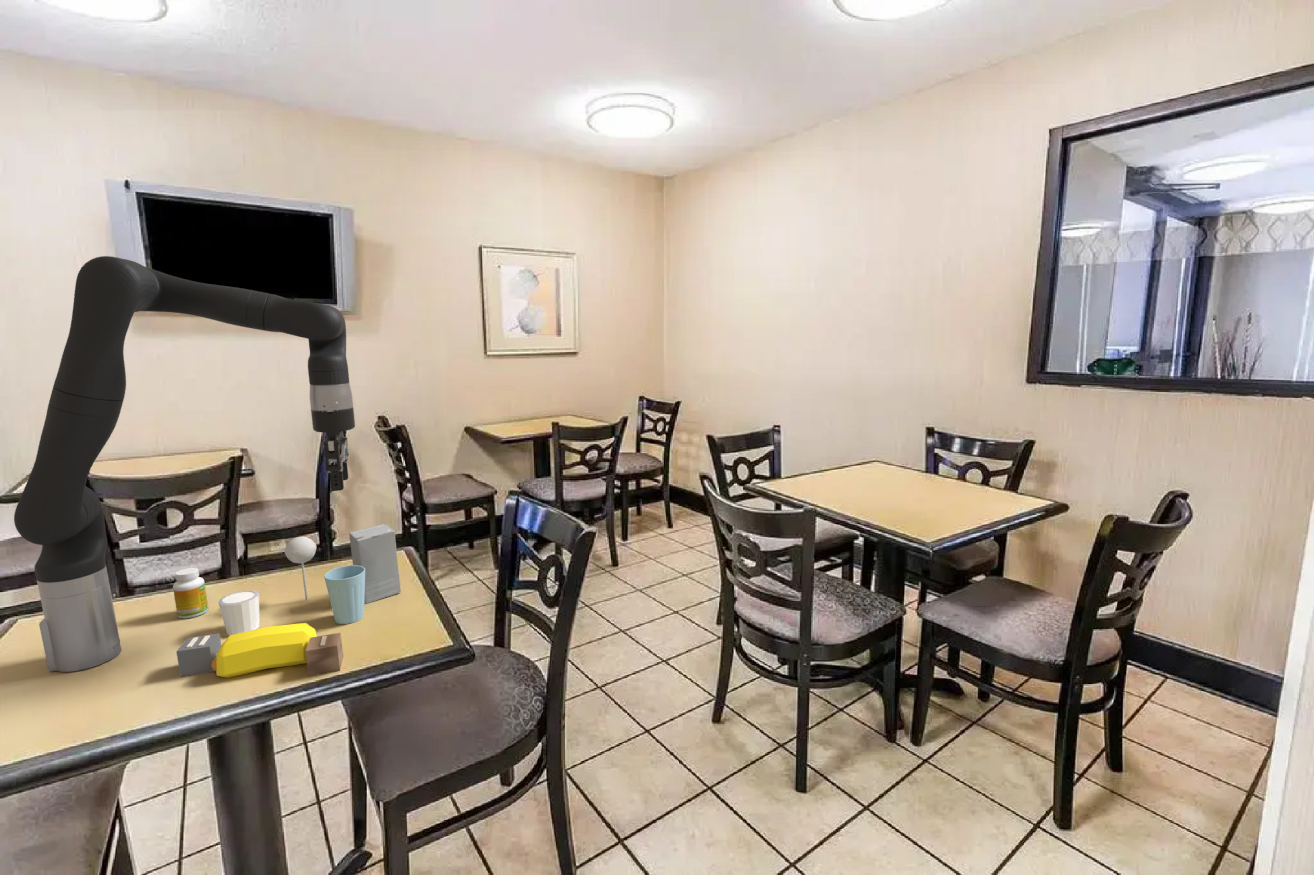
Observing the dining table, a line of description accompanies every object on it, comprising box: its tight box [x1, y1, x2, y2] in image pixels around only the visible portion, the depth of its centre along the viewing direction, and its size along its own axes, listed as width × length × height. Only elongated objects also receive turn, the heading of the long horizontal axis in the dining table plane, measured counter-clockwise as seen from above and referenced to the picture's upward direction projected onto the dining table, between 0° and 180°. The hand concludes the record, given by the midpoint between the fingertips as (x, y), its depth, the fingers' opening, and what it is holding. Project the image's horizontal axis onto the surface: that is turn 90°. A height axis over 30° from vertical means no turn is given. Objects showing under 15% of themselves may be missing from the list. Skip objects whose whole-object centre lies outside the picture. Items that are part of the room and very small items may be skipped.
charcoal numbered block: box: [175, 633, 222, 678], centre depth 111 cm, size 5×5×5 cm
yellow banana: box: [211, 622, 318, 679], centre depth 112 cm, size 18×7×8 cm
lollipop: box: [284, 536, 317, 602], centre depth 137 cm, size 6×6×15 cm
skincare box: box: [348, 523, 402, 605], centre depth 139 cm, size 8×7×16 cm
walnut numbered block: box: [306, 632, 344, 677], centre depth 111 cm, size 5×5×5 cm
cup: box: [323, 564, 365, 625], centre depth 129 cm, size 8×8×10 cm
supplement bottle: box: [172, 567, 209, 619], centre depth 131 cm, size 5×5×10 cm
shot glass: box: [217, 589, 260, 636], centre depth 125 cm, size 7×7×7 cm
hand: (340, 485), depth 124 cm, fingers open, 8 cm apart
